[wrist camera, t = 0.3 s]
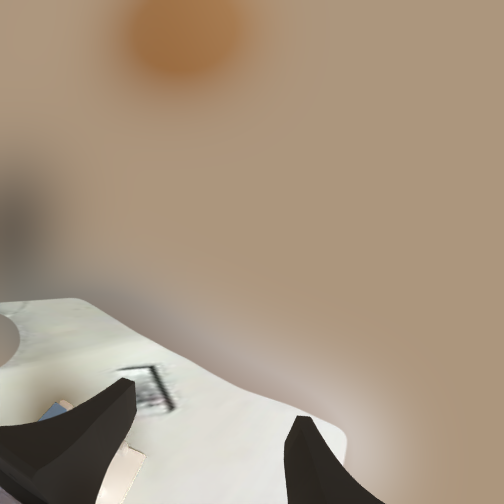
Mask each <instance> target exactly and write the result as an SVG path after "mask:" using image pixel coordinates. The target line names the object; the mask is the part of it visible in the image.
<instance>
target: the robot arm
mask: <svg viewBox="0 0 504 504" xmlns="http://www.w3.org/2000/svg"><path fill="white" fill-rule="evenodd" d="M136 412H137V408H136V393H135V382H134V381H131V380H128V379H126V378H121V379H119V380H118V381H116V382H115V383H114V384H112V385H111V386H109V387H108V388H106V389H105V390H103V391H102V392H100V393H99V394H97V395H96V396H94V397H92V398H91V399H89V400H88V401H86V402H84V403H82V404H80V405H79V406H77V407H75V408H73V409H71V410H69V411H67V412H64V413H62V414H59V415H57V416H54V417H51V418H48V419H45V420H41V421H38V422H33V423H28V424H22V425H14V426H0V504H95V503H96V499H97V496H98V493H99V490H100V488H101V485H102V482H103V479H104V477H105V474H106V472H107V469H108V467H109V465H110V463H111V461H112V459H113V458H114V456H115V454H116V452H117V451H118V449H119V447H120V445H121V444H122V442H123V440H124V438H125V437H126V435H127V433H128V431H129V430H130V427H131V425H132V423H133V420H134V417H135V415H136ZM284 468H285V478H286V488H287V497H288V504H385V503H383V502H382V501H380V500H379V499H377V498H376V497H375V496H373V495H372V494H371V493H370V492H368V491H367V490H366V489H365V488H363V487H362V486H361V485H360V484H359V483H358V482H357V481H356V480H355V479H354V478H353V477H352V476H351V475H350V474H349V473H348V472H347V471H346V470H345V468H344V467H343V466H342V465H341V463H340V462H339V461H338V460H337V458H336V457H335V455H334V454H333V453H332V451H331V450H330V448H329V447H328V445H327V444H326V442H325V441H324V439H323V437H322V436H321V434H320V432H319V431H318V429H317V427H316V425H315V424H314V422H313V420H312V418H311V417H308V416H297V417H296V419H295V421H294V423H293V426H292V428H291V430H290V432H289V434H288V436H287V438H286V440H285V444H284Z"/></svg>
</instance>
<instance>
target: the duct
mask: <svg viewBox="0 0 504 504" xmlns="http://www.w3.org/2000/svg"><path fill="white" fill-rule="evenodd" d="M71 409H73V405H71V404H70V403H68V402H66V401H65V400H63V399H62V400H61V401H60V402H59V403H56V402H55V403H54V404H53V405H52V407H51V408H50V409H49V410H48V411H47V412H46V413H45V414H44V415H43V416H42V417H41V418H40V419H39V420H38V421H41V420H45V419H48V418H51V417H54V416H57V415H59V414H62V413H64V412H67V411H69V410H71ZM145 458H146V455H144V454H142V453H140V452H137V451H135V450H133V449H131V448H128V444H127V443H126V441H125V440H123V442H122V444H121V445H120V447H119V449H118V451H117V452H116V454H115V456H114V458H113V459H112V461H111V463H110V465H109V467H108V469H107V472H106V474H105V477H104V479H103V482H102V485H101V488H100V490H99V493H98V496H97V499H96V503H95V504H122V502H123V501H124V499H125V497H126V495H127V493H128V491H129V489H130V487H131V485H132V483H133V481H134V479H135V477H136V475H137V473H138V471H139V469H140V468H141V466H142V464H143V462H144V460H145Z"/></svg>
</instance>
